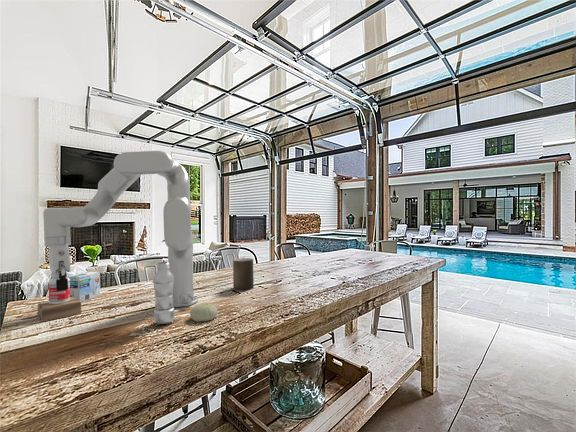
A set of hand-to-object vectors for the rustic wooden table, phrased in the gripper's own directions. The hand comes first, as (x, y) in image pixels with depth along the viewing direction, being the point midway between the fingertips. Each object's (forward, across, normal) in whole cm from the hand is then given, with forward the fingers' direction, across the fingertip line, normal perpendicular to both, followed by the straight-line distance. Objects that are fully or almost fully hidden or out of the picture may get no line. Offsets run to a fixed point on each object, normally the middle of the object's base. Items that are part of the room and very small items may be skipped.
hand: (59, 287), depth 106 cm
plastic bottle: (+10, -38, -22) cm, 45 cm away
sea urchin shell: (+10, -44, -33) cm, 56 cm away
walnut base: (+10, 0, 0) cm, 10 cm away
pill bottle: (+5, 0, 0) cm, 5 cm away
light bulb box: (+10, +16, -11) cm, 22 cm away
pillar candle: (+10, -23, -67) cm, 71 cm away
